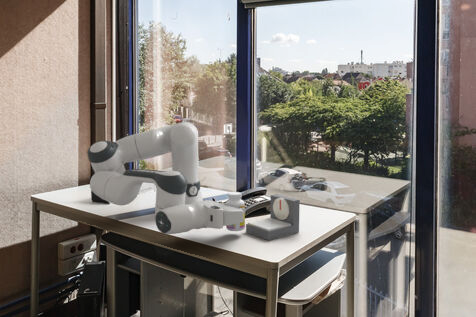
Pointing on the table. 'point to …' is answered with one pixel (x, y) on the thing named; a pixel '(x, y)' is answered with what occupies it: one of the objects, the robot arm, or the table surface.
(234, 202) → the supplement bottle
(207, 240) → the table surface
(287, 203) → the dial scale
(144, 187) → the laminator
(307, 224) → the table surface
